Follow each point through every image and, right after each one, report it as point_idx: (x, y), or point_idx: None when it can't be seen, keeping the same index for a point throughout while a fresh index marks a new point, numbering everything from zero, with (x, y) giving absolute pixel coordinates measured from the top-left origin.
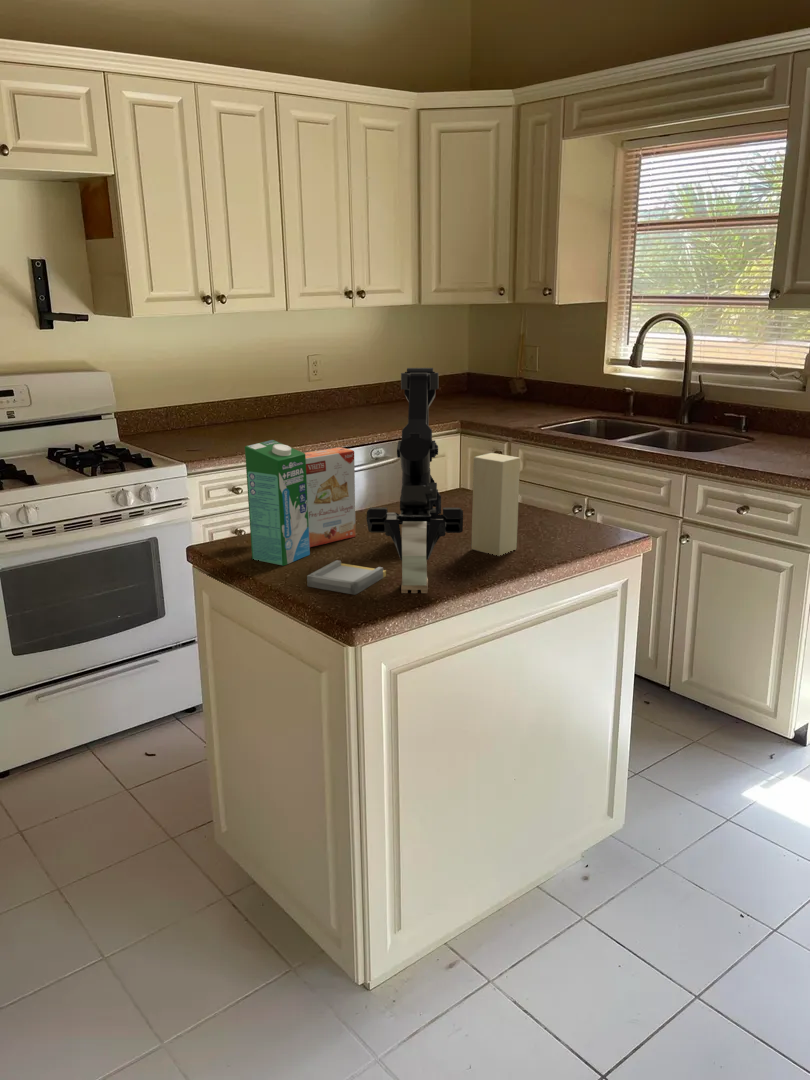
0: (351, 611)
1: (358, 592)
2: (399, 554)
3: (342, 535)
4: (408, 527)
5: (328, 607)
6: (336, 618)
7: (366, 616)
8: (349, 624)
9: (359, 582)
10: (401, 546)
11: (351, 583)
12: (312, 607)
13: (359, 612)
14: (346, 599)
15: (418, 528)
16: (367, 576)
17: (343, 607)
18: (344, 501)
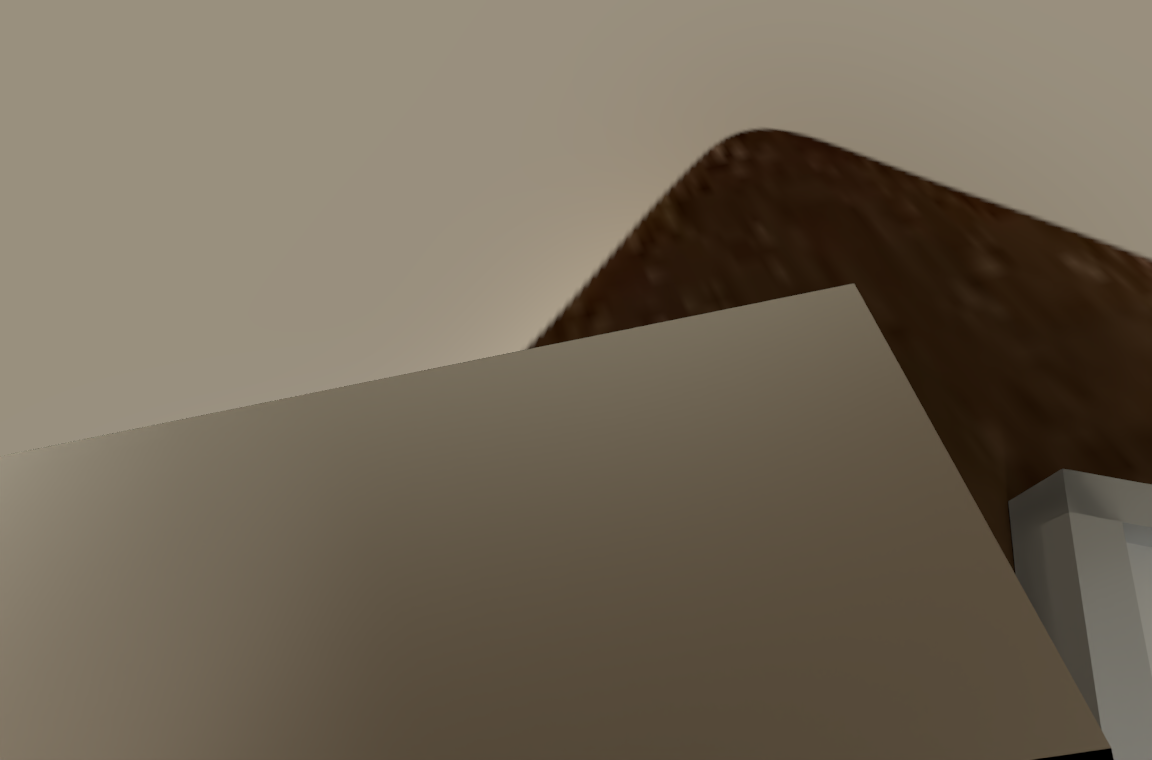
0: (858, 255)
1: (1014, 545)
2: None
3: None
4: (617, 385)
5: (1023, 272)
6: (880, 170)
7: (744, 220)
8: (780, 135)
9: (1067, 546)
10: None
11: (1103, 477)
12: (1113, 252)
13: (807, 253)
14: (1010, 409)
15: (231, 431)
16: (1101, 711)
17: (938, 291)
18: None
